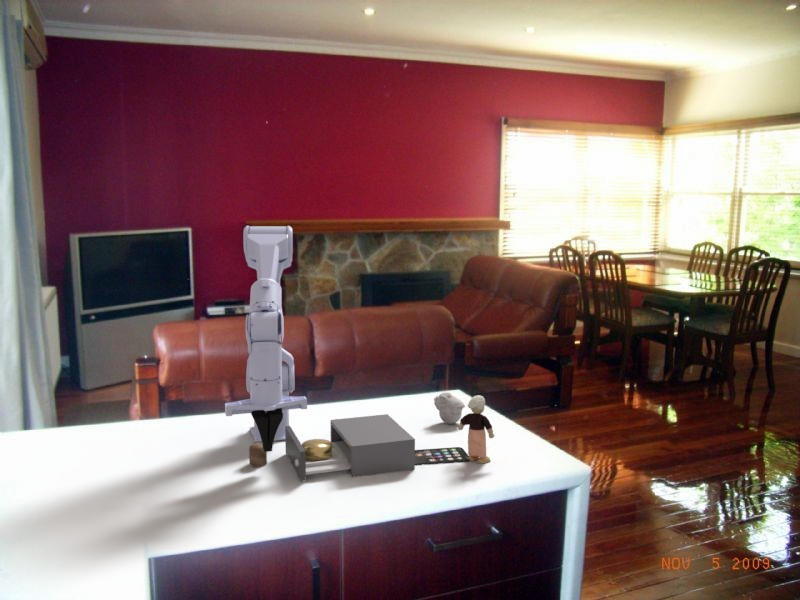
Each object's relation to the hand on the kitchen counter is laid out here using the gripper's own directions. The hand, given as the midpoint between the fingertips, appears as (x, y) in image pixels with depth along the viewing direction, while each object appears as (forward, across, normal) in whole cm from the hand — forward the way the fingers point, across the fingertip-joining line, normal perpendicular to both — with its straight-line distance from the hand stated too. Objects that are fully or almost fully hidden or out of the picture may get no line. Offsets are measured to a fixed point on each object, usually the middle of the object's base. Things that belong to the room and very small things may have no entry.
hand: (267, 449), depth 126 cm
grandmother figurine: (+4, +39, -7) cm, 40 cm away
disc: (+2, +9, 0) cm, 10 cm away
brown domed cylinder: (+4, -1, +4) cm, 6 cm away
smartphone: (+5, +31, -3) cm, 31 cm away
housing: (+4, +20, 0) cm, 20 cm away
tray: (+4, +10, 0) cm, 11 cm away
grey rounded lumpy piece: (+4, +43, +15) cm, 46 cm away
